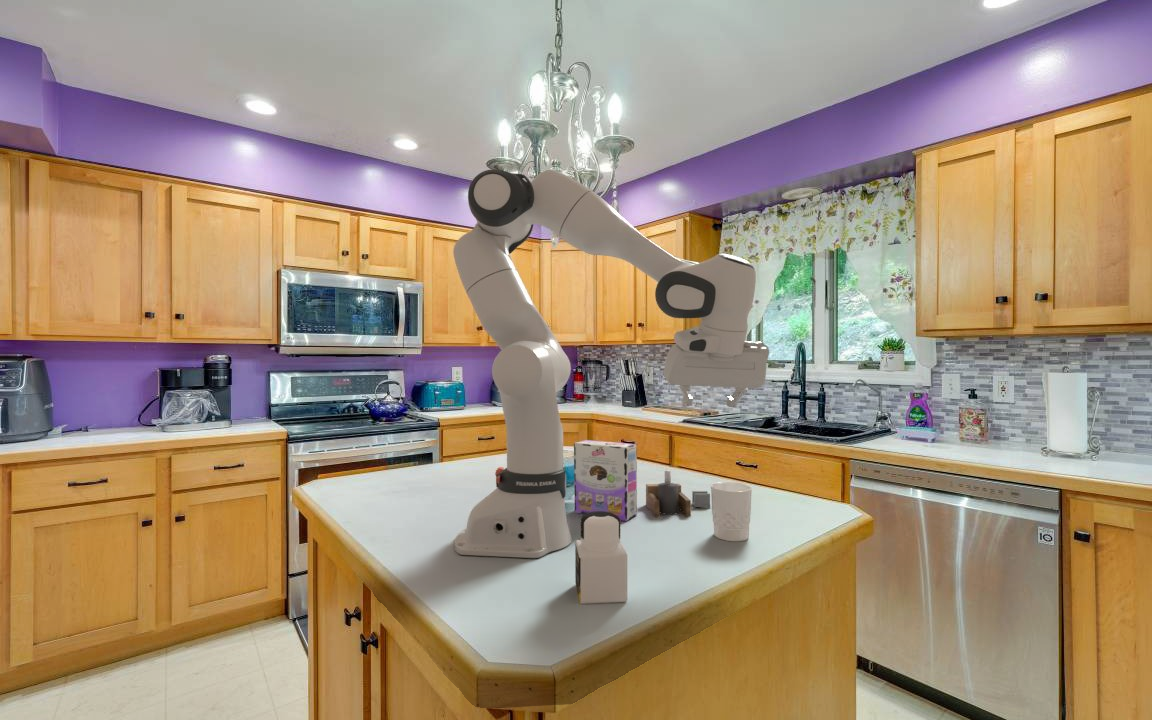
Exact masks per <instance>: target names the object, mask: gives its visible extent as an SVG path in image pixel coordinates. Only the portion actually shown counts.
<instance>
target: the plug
mask: <svg viewBox="0 0 1152 720" xmlns="http://www.w3.org/2000/svg"><path fill="white" fill-rule="evenodd" d="M671 473H672V471H671V469H670V470H669V469H665V470H664V482H660V483H657V484H658V500H659V513H660V512H661V513H660V514H662V513H665V514H664V515H676V514H675V513H677V514H678V513H679V508H678V485H677V484H678V483H673V482H671V481H672V478H671V477H672V476H671V475H672V474H671Z"/></svg>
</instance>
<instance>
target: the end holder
mask: <svg viewBox="0 0 1152 720" xmlns="http://www.w3.org/2000/svg"><path fill="white" fill-rule="evenodd" d="M658 484H659V483H650V484H649V483H648V484H645V506H646V507H647V506H648V507H647V508H648V510H649V511H650V510H651V511H650V513H652V515H653V516H654V517H655V518H656V517H657V518H658V517H659V518H660V512H659V500H658ZM676 484H677V485H678V507H679V508H680V509H681V510H680V509H679V508H678V509H679V510H680V511H681V513H683V514H684V515H685V517H691V516H692V513H691V511H692V508H691V507H692V499H690V498H689V497H687V496H686V495H685V494H684V493H683V492H682V485H681V484H680V483H676Z"/></svg>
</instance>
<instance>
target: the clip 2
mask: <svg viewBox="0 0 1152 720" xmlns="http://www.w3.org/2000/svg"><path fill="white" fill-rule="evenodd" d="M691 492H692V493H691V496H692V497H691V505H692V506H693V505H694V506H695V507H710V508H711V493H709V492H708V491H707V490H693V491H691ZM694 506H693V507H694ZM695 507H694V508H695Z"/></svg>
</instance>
